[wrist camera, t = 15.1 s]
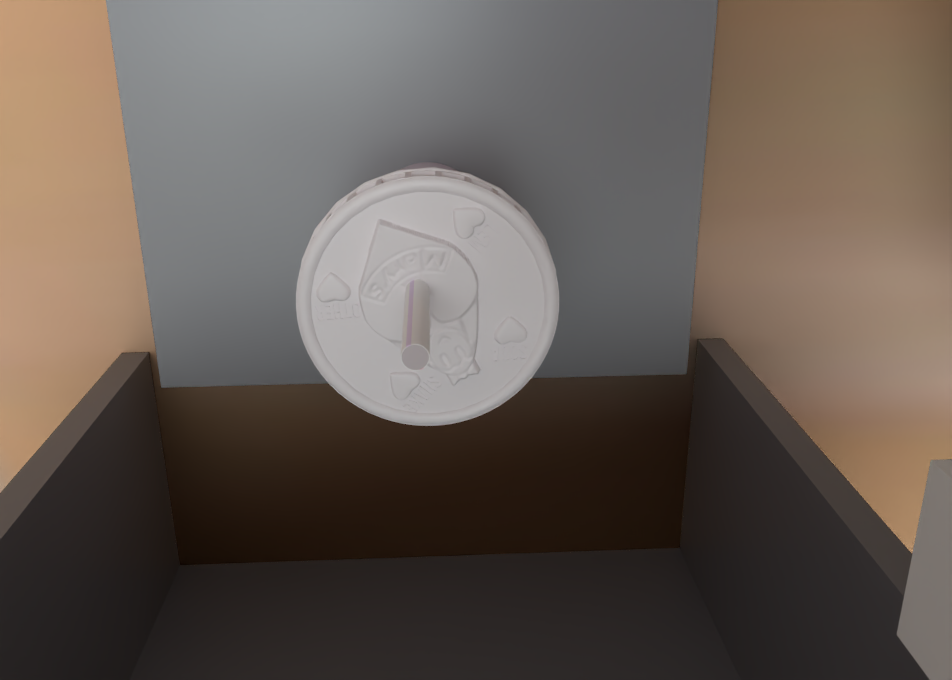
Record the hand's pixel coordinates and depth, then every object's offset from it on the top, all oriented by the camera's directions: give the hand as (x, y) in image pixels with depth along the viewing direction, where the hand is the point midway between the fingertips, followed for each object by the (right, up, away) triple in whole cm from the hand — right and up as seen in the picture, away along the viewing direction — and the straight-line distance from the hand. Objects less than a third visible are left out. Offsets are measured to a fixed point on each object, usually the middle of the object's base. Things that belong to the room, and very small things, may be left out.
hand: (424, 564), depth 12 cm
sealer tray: (-1, +10, +20) cm, 22 cm away
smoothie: (-1, +7, +19) cm, 20 cm away
